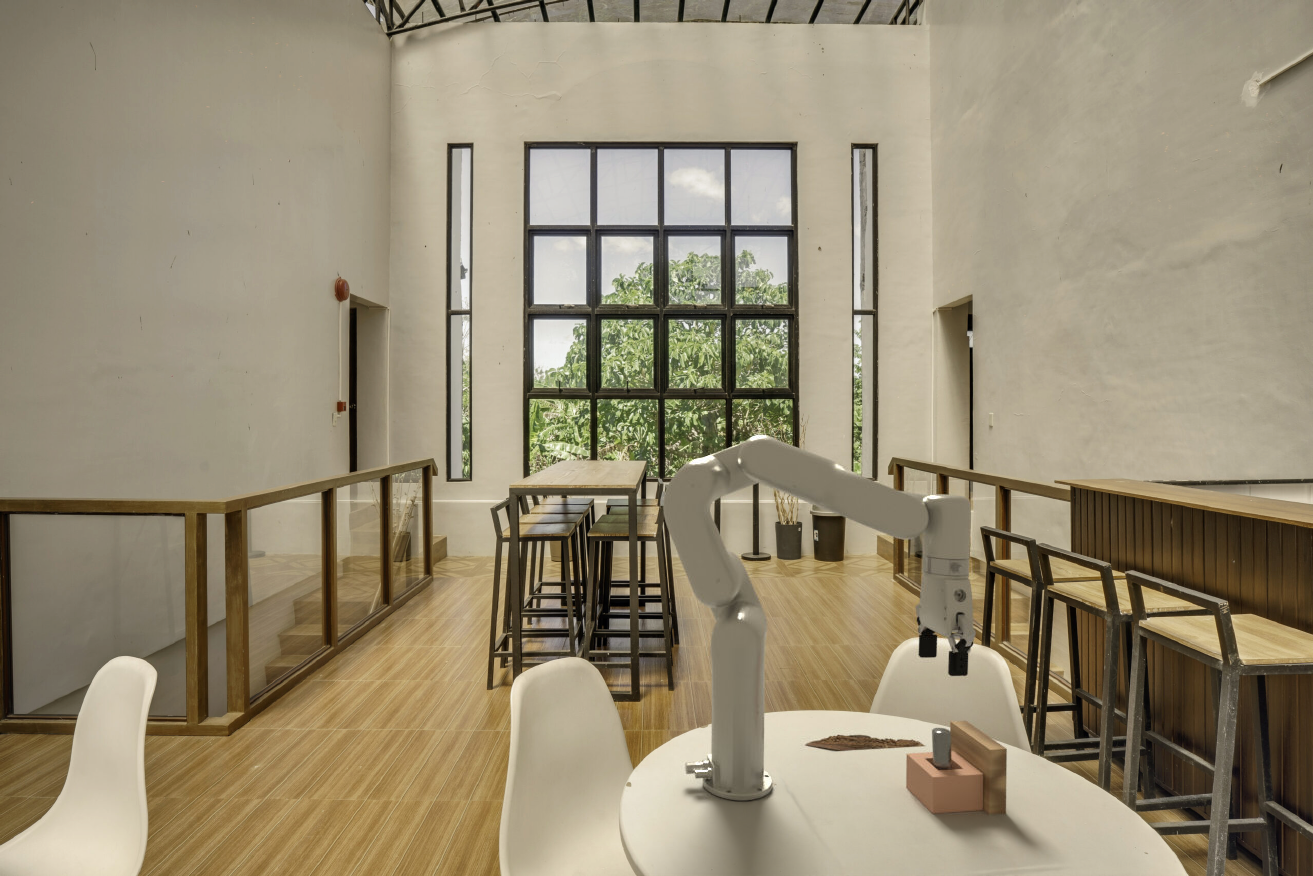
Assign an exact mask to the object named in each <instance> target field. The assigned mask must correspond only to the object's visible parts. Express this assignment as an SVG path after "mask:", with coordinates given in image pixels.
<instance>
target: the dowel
mask: <svg viewBox="0 0 1313 876" xmlns="http://www.w3.org/2000/svg"><path fill="white" fill-rule="evenodd" d="M931 739H932V740H931V742H932V745H931V747H932V752H933V766H934V767H935V768H936V769H937V770H952V758H951V732H950V729H947V728H944V727H935V728H932V730H931Z"/></svg>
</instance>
